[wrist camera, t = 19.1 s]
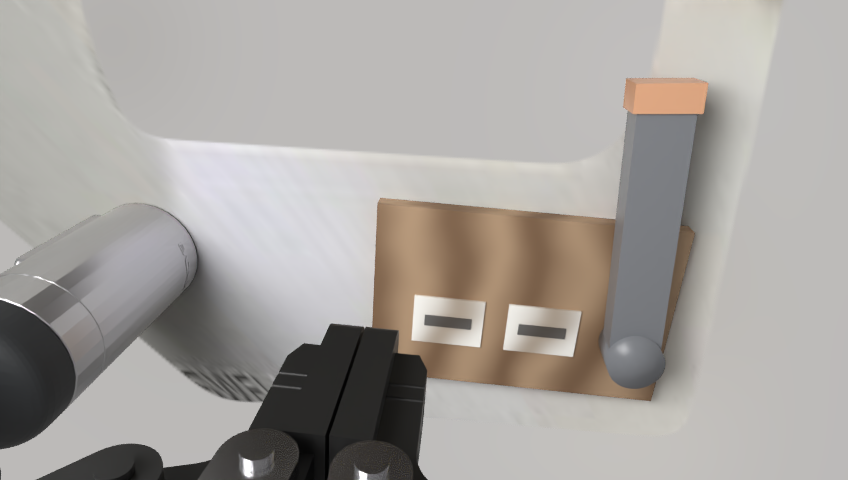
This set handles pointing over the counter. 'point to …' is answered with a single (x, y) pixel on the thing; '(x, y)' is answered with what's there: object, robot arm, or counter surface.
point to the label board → (502, 294)
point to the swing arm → (648, 223)
